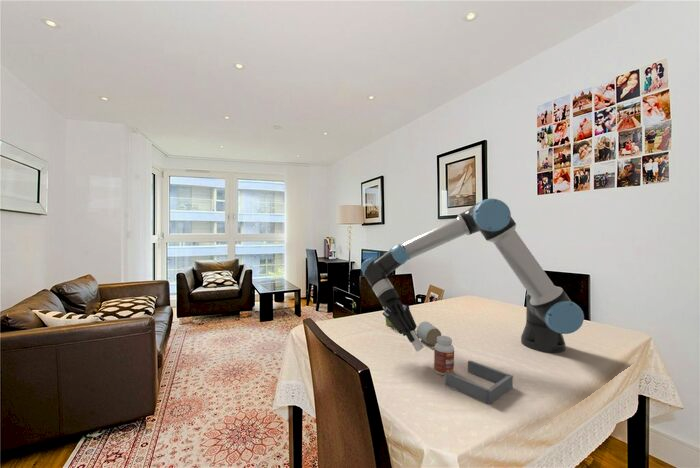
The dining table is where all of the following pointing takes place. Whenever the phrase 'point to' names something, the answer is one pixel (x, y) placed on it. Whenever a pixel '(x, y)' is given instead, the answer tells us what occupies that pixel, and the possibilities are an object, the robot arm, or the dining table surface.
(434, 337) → the ceramic mug
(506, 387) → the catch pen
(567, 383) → the dining table surface
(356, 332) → the dining table surface
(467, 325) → the dining table surface
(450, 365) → the pill bottle
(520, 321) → the dining table surface
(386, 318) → the plant pot
